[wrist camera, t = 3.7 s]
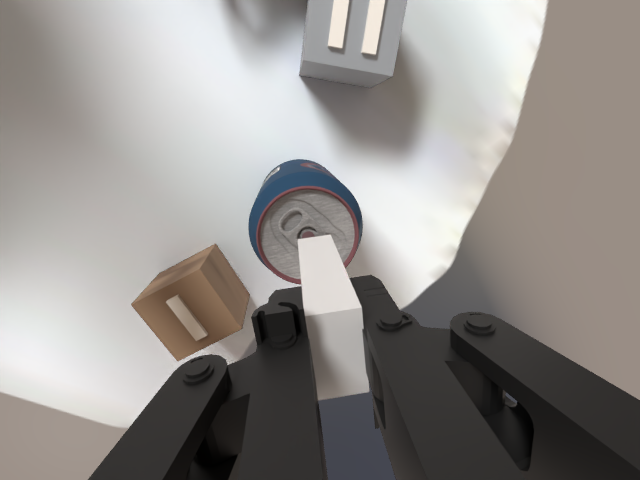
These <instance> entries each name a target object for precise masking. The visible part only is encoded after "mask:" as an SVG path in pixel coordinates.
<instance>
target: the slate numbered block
mask: <svg viewBox="0 0 640 480" xmlns="http://www.w3.org/2000/svg"><path fill="white" fill-rule="evenodd" d="M406 4H407V0H308V1H307V10H306V19H305V28H304V37H303V46H302V55H301V64H300V73H299V76H305V77H311V78H317V79H322V80H328V81H334V82H339V83H345V84H351V85H356V86H362V87H368V88H372V87H374V86H375V85H377V84H379V83H381V82H383V81H385V80H387V79H389V78H391V77H393V73H394V67H395V62H396V57H397V52H398V46H399V41H400V36H401V30H402V25H403V20H404V15H405V9H406Z"/></svg>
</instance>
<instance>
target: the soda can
mask: <svg viewBox="0 0 640 480" xmlns="http://www.w3.org/2000/svg"><path fill="white" fill-rule="evenodd" d="M362 228H363V223H362V215H361V211H360V208H359V205H358V203H357V201H356V199H355V197H354V196H353V195H352V193H351V192H350V191H349V190H348V189H347V188H346V187H345V186H344V185H343V184H342V183H341V182H340V181H339V180H338V179H337V178H336V177H334V176H333V175H332V174H331V173H330V172H329V171H328V170H327V169H326V168H324V167H323V166H321V165H320V164H318V163H315V162H313V161H309V160H302V159H298V160H291V161H287V162H284V163H282V164H280V165H279V166H277V167H276V168H274V169H273V170H272V171H271V172H270V173H269V174H268V176H267V177H266V179H265V180H264V182H263V184H262V187H261V189H260V191H259V194H258V196H257V198H256V200H255V203H254V205H253V207H252V210H251V213H250V218H249V237H250V241H251V244H252V247H253V249H254V251H255V253H256V255H257V257H258V258H259V259H260V261H261V262H262V263H263V264H264V265H265V266H266V267H267V268H268V269H270V270H271V271H272V272H273V273H274V274H276V275H277V276H279V277H280V278H282V279H284V280H286V281H289V282H292V283H296V284H301V274H300V262H299V251H298V239H303V238H310V237H317V236H324V235H331V237H332V239H333V241H334V244H335V246H336V248H337V251H338V253H339V255H340V258H341V260H342V262H343V265H344V267H345V268H346V267H347V266H348V264H349V263H350V262H351V260H352V258H353V257H354V255H355V252H356V250H357V248H358V246H359V243H360V240H361V236H362Z"/></svg>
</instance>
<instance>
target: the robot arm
mask: <svg viewBox="0 0 640 480" xmlns="http://www.w3.org/2000/svg"><path fill="white" fill-rule="evenodd" d="M298 251H299V262H300V274H301V285H302V286H301V287H294V288H288V289H281V290H275V291H274V293H273V294H272V295H271V296H270V297H269V302H268V303H267V304H265V305H263V306H260V307H259V308H258V309H257V310H255V311H254V313H253V315H252V317H251V318H252V323H253V327H254V332H255V337H256V341H257V350H256V352H255V353H253V354H252V355H250V356H249V357H247V358H244V359H242V360H240V361H237V362H235V363H232V364H229V365H227V363H226V359H224V358H223V357H221V356H219V355H212V354H211V355H203V356H199V357H197V358H193V359H191V360H189V361H187V362H186V363H184V364H182V365H181V366H180V367H179V368H178V369H177V370H176V371H174V372H173V374H172V375H171V376H170V377H169V379H168V380H167V381H166V382H165V384H164V385H163V386H162V387H161V389H160V390H159V391H158V392H157V394H156V395H155V396H154V397H153V399H152V400H151V401H150V402H149V404H148V405H147V406H146V407H145V409H144V410H143V411H142V412H141V414H140V415H139V416H138V417H137V419H136V420H135V421H134V422H133V424H132V425H131V426H130V427H129V429H128V430H127V431H126V432H125V434H124V435H123V436H122V438H121V439H120V440H119V441H118V443H117V444H116V445H115V447H114V448H113V449H112V450H111V451H110V453H109V454H108V455H107V456H106V458H105V459H104V460H103V461H102V463H101V464H100V465H99V466H98V468H97V469H96V470H95V471H94V473H93V474H92V475H91V477H90V478H89V479H88V480H328V477H327V469H326V461H325V453H324V444H323V434H322V426H321V418H320V411H319V404H318V400H324V399H330V398H336V397H342V396H348V395H354V394H360V393H365V392H369V383H370V386H371V389H372V396H373V408H374V419H375V428H379V426H380V430H381V433H382V436H383V439H384V442H385V446H386V449H387V452H388V455H389V459H390V461H391V465H392V468H393V471H394V475H395V478H396V480H640V400H638V399H637V398H635V397H633V396H631V395H630V394H628V393H626V392H625V391H623V390H621V389H620V388H618V387H616V386H614V385H613V384H611V383H609V382H607V381H606V380H604V379H602V378H601V377H599V376H597V375H596V374H594V373H592V372H590V371H589V370H587V369H585V368H584V367H582V366H580V365H578V364H577V363H575V362H573V361H571V360H570V359H568V358H566V357H565V356H563V355H561V354H560V353H558V352H556V351H554V350H553V349H551V348H549V347H547V346H546V345H544V344H542V343H541V342H539V341H537V340H536V339H534V338H532V337H530V336H529V335H527V334H525V333H524V332H522V331H520V330H518V329H517V328H515V327H513V326H512V325H510V324H508V323H506V322H505V321H503V320H501V319H499V318H497V317H495V316H492V315H489V314H485V313H481V312H467V313H461V314H458V315H457V316H455V317H453V319H452V320H451V322H450V329H440V328H427V327H422V326H420V325H419V323H418V322H417V321H416V319H415V318H414V317H412V316H411V315H409V314H407V313H405V312H402V311H400V310H399V309H398V307H397V306H396V304H395V302H394V301H393V299H392V298H391V296H390V295H389V294H388V291H387V290H386V288H385V287H384V285H383V284H382V282H381V280H379V279H377V278H376V277H374V276H372V275H367V276H361V277H354V278H349V276H348V274H347V272H346V269H345V267H344V265H343V262H342V260H341V258H340V255H339V253H338V251H337V248H336V246H335V244H334V241H333V239H332V237H331V235H324V236H317V237H310V238H303V239H298ZM368 380H369V382H368ZM506 392H507V393H508V394H509V395H510V396H512V397H513V398H514V399H515V400H517V403H514V402H513V401H511V400H510V399H509V398H508V397H506V396H505V394H506Z"/></svg>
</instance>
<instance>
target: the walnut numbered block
mask: <svg viewBox="0 0 640 480" xmlns="http://www.w3.org/2000/svg"><path fill="white" fill-rule="evenodd" d="M249 295H250V294H249V293H248V291H247V290H246V288H245V287H244V285H243V284H242V282H241V281H240V279H239V278H238V276H237V275H236V273H235V272H234V270H233V269H232V267H231V266H230V264H229V263H228V261H227V260H226V258H225V257H224V255H223V254H222V252H221V251H220V249H219V248H218V246H217V245H216V244H214V245H212V246H210V247H208V248H206V249H205V250H203V251H201V252H199V253H197V254H195V255H193V256H191V257H189V258H187V259H186V260H184V261H182V262H180V263H178V264H176V265H174V266H172V267H170V268H168V269H167V270H165V271H163V272H161V273H159V274H158V275H157V277H156V278H155V279H154V280H153V281H152V282H151V283H150V284H149V285H148V286H147V288H146V289H145V290H144V291H143V292H142V293H141V294H140V295H139V296H138V297H137V299H136V300H135V301H134V302H133V303H132V304H131V305H132V307H133V308H134V309H135V310H136V311H137V313H138V314H139V315H140V316H141V318H142V319H143V320H144V321H145V322H146V324H147V325H148V326H149V327H150V328H151V330H152V331H153V332H154V333H155V335H156V336H157V337H158V338H159V339H160V341H161V342H162V343H163V344H164V345H165V347H166V348H167V349H168V350H169V352H170V353H171V354H172V355H173V356H174V358H175V359H176V360H177V361H179V360H181V359H183V358H185V357H187V356H189V355H191V354H193V353H195V352H197V351H199V350H201V349H203V348H205V347H207V346H209V345H211V344H213V343H215V342H217V341H219V340H221V339H223V338H225V337H227V336H229V335H231V334H233V333H235V332H237V331H239V330H241V329H242V326H243V322H244V317H245V313H246V309H247V304H248V300H249Z"/></svg>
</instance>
